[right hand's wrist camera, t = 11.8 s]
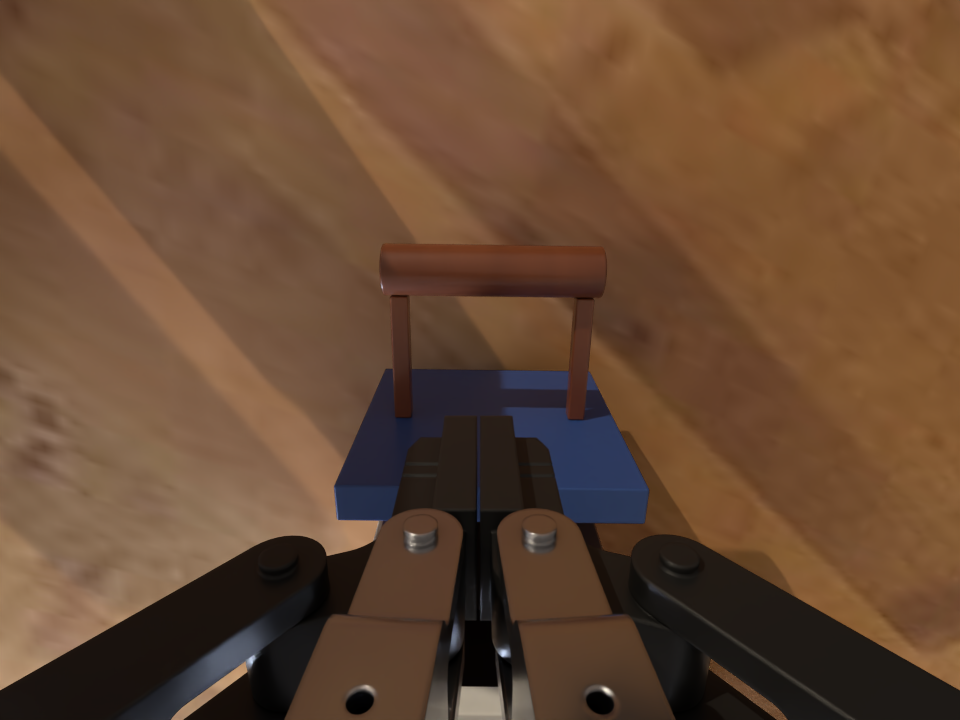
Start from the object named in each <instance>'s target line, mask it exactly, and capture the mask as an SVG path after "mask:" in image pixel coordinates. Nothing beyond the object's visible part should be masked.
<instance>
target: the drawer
mask: <svg viewBox="0 0 960 720" xmlns="http://www.w3.org/2000/svg"><path fill="white" fill-rule="evenodd" d="M606 276H607V259H606V253H605V250H604V248H603V247H596V246H526V245H456V244H386V243H385V244H383V245H382V248H381V252H380V283H381V289H382V292H383V294H384V295H391V297H390V314H391V338H392V361H393V369H386V370H385V372H384V374H383V376H382V379H381V381H380V383H379V385H378V388H377V390H376V392H375V395H374V397H373V399H372V401H371V404H370V406H369V408H368V410H367V413H366V415H365V417H364V420H363V422H362V424H361V426H360V429H359V431H358V433H357V435H356V438H355V440H354V442H353V445H352V447H351V449H350V451H349V454H348V456H347V458H346V460H345V463H344V465H343V467H342V469H341V472H340V474H339V476H338V479H337V481H336V483H335V485H334V492H335V503H336V514H337V519H338V520H376V521H383V522H382V526H383V525H384V523H385V522H386V521H388V520H389V519H390V518H392V514H393V509H394V505H395V501H396V497H397V493H398V489H399V485H400V481H401V477H402V472H403V468H404V466H405V460H406V456H407V452H408V449H409V448H410V447H411V446H412V445H413V444H414V443H415V442H416V441H417V440H418V439H419V438H420V437H442V432H443V425H444V417H445V416H477V600H476V620H465V630H464V656H465V658H464V671H463V679H462V686H467V687H498V679H497V671H496V658H495V656H496V649H495V647H494V644H493V641H492V623H491V621H480V416H513V424H514V432H515V437H537V438H538V439H539V440H540V441H541V442H542V443H543V444H544V445H545V446H546V447H547V448H548V449H549V452H550V456H551V460H552V466H553V469H554V473H555V478H556V482H557V486H558V491H559V495H560V499H561V503H562V508H563V512H564V515H565V516H567V517H568V518H570V519H571V520H572V521H574V522H575V523H576V525H577V526H578V527H579V529H580V531H581V533H582V536H583V538H584V541H585V543H586V544H588V545H590V546H592V547H595V548H598V549H600V550H603V548H602V545H601V542H600V539H599V535H598V532H597V529H596V526H595V523H627V524H643V523H645V518H646V511H647V503H648V496H649V488H648V486H647V484H646V482H645V480H644V478H643V476H642V474H641V472H640V470H639V469H638V467H637V465H636V463H635V461H634V459H633V457H632V455H631V453H630V451H629V449H628V447H627V445H626V443H625V441H624V439H623V437H622V435H621V433H620V431H619V429H618V427H617V425H616V423H615V421H614V419H613V417H612V415H611V413H610V411H609V409H608V407H607V405H606V403H605V401H604V399H603V397H602V395H601V393H600V391H599V389H598V387H597V385H596V383H595V381H594V379H593V377H592V375H591V373H590V372H588V368H589V357H590V345H591V334H592V322H593V311H594V299H593V298H600V297H601V296H602V295H603V292H604V289H605V284H606ZM410 295H418V296H490V297H562V298H574V307H573V320H572V334H571V347H570V361H569V371H511V370H435V369H412V362H411V328H410ZM382 526H381V527H382Z"/></svg>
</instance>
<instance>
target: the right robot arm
mask: <svg viewBox="0 0 960 720" xmlns="http://www.w3.org/2000/svg"><path fill="white" fill-rule="evenodd" d="M476 600H477V416H445V417H444V425H443V432H442V437H420V438H419V439H418V440H417V441H416V442H415V443H414V444H413V445H412V446H411V447H410V448H409V449H408V452H407V456H406V460H405V466H404V468H403V472H402V477H401V481H400V485H399V489H398V493H397V497H396V501H395V505H394V509H393V514H392V518H390V519H389V520H388V521H386V522H385V523H384V525H383V526H382V527H381V529H380V531H379V533H378V536H377V538H376V540H374V541H373V542H371V543H369V544H367V545H365V546H363V547H361V548H358V549H355V550H351V551H348V552H343V553H339V554H334V555H330V556H326V552H325V549H324V548H323V546H322V545H321V544H320V543H319V542H317V541H315V540H313V539H311V538H308V537H303V536H283V537H278V538H274V539H270V540H267V541H265V542H262V543H260V544H258V545H256V546H254V547H252V548H250V549H249V550H247V551H245V552H243V553H242V554H240V555H238V556H236V557H235V558H233V559H231V560H229V561H228V562H226V563H224V564H222V565H220V566H219V567H217V568H215V569H213V570H212V571H210V572H208V573H206V574H205V575H203V576H201V577H199V578H198V579H196V580H194V581H192V582H191V583H189V584H187V585H185V586H183V587H182V588H180V589H178V590H176V591H175V592H173V593H171V594H169V595H168V596H166V597H164V598H162V599H161V600H159V601H157V602H155V603H154V604H152V605H150V606H148V607H146V608H145V609H143V610H141V611H139V612H138V613H136V614H134V615H132V616H131V617H129V618H127V619H125V620H124V621H122V622H120V623H118V624H117V625H115V626H113V627H111V628H109V629H108V630H106V631H104V632H102V633H101V634H99V635H97V636H95V637H94V638H92V639H90V640H88V641H87V642H85V643H83V644H81V645H80V646H78V647H76V648H74V649H72V650H71V651H69V652H67V653H65V654H64V655H62V656H60V657H58V658H57V659H55V660H53V661H51V662H50V663H48V664H46V665H44V666H43V667H41V668H39V669H37V670H35V671H34V672H32V673H30V674H28V675H27V676H25V677H23V678H21V679H20V680H18V681H16V682H14V683H13V684H11V685H9V686H7V687H6V688H4V689H2V690H0V720H171V718H172V717H173V716H174V715H175V714H176V713H177V712H178V711H179V710H180V709H181V708H182V707H183V706H184V705H186V704H187V703H188V702H190V701H191V700H192V699H194V698H195V697H197V696H198V695H199V694H201V693H202V692H203V691H205V690H206V689H208V688H209V687H210V686H212V685H213V684H214V683H216V682H217V681H219V680H220V679H221V678H223V677H224V676H226V675H227V674H228V673H230V672H231V671H232V670H234V669H235V668H237V667H238V666H239V665H241V664H242V663H243V662H245V661H246V666H247V671H248V672H247V673H246V674H244V675H243V676H242V677H240V678H239V679H238V680H236V681H235V682H234V683H232V684H231V685H230V686H228V687H227V688H225V689H224V690H223V691H221V692H220V693H219V694H217V695H216V696H215V697H213V698H212V699H211V700H209V701H208V702H207V703H205V704H204V705H203V706H201V707H200V708H199V709H197V710H196V711H194V712H193V713H192V714H190V715H189V716H188V717H186V718H185V719H184V720H458V713H459V704H460V696H461V687H462V679H463V671H464V658H465V656H464V630H465V620H476ZM480 621H491V623H492V641H493V644H494V647H495V649H496V656H495V658H496V671H497V679H498V687H499V696H500V704H501V713H502V720H776V719H775V718H774V717H772V716H771V715H770V714H768V713H767V712H765V711H764V710H763V709H761V708H760V707H759V706H757V705H756V704H755V703H753V702H752V701H751V700H749V699H748V698H747V697H745V696H744V695H743V694H741V693H740V692H739V691H737V690H736V689H735V688H733V687H732V686H730V685H729V684H728V683H726V682H725V681H724V680H722V679H721V678H720V677H718V676H717V675H716V674H714V673H713V672H712V671H710V670H709V665H710V660H711V659H712V660H714V661H715V662H717V663H718V664H719V665H721V666H722V667H723V668H725V669H726V670H728V671H729V672H730V673H732V674H733V675H734V676H736V677H737V678H739V679H740V680H741V681H743V682H744V683H746V684H747V685H748V686H750V687H751V688H752V689H754V690H755V691H757V692H758V693H759V694H761V695H762V696H763V697H765V698H766V699H768V700H769V701H770V702H772V703H773V704H774V705H775V706H776V707H777V708H778V709H780V710H781V712H782V713H783V714H784V715H785V716H786V718H787V719H788V720H960V690H958V689H956V688H954V687H953V686H951V685H949V684H947V683H946V682H944V681H942V680H940V679H939V678H937V677H935V676H933V675H932V674H930V673H928V672H926V671H925V670H923V669H921V668H919V667H917V666H916V665H914V664H912V663H910V662H909V661H907V660H905V659H903V658H902V657H900V656H898V655H896V654H895V653H893V652H891V651H889V650H888V649H886V648H884V647H882V646H880V645H879V644H877V643H875V642H873V641H872V640H870V639H868V638H866V637H865V636H863V635H861V634H859V633H858V632H856V631H854V630H852V629H851V628H849V627H847V626H845V625H843V624H842V623H840V622H838V621H836V620H835V619H833V618H831V617H829V616H828V615H826V614H824V613H822V612H821V611H819V610H817V609H815V608H814V607H812V606H810V605H808V604H806V603H805V602H803V601H801V600H799V599H798V598H796V597H794V596H792V595H791V594H789V593H787V592H785V591H784V590H782V589H780V588H778V587H777V586H775V585H773V584H771V583H769V582H768V581H766V580H764V579H762V578H761V577H759V576H757V575H755V574H754V573H752V572H750V571H748V570H747V569H745V568H743V567H741V566H740V565H738V564H736V563H734V562H732V561H731V560H729V559H727V558H725V557H724V556H722V555H720V554H718V553H717V552H715V551H713V550H711V549H710V548H708V547H706V546H704V545H702V544H700V543H698V542H696V541H694V540H691V539H688V538H685V537H681V536H676V535H654V536H650V537H646V538H644V539H642V540H640V541H639V542H638V543H637V544H636V545H635V546H634V548H633V550H632V555H631V557H630V556H625V555H621V554H616V553H612V552H608V551H604V550H600V549H598V548H595V547H592V546H590V545H588V544H586V543H585V541H584V538H583V536H582V533H581V531H580V529H579V527H578V526H577V525H576V523H575V522H574V521H572V520H571V519H570V518H568V517H567V516H565V515H564V512H563V508H562V503H561V499H560V495H559V491H558V486H557V482H556V478H555V473H554V469H553V466H552V460H551V456H550V452H549V449H548V448H547V447H546V446H545V445H544V444H543V443H542V442H541V441H540V440H539V439H538V438H537V437H515V432H514V424H513V416H480Z"/></svg>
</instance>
